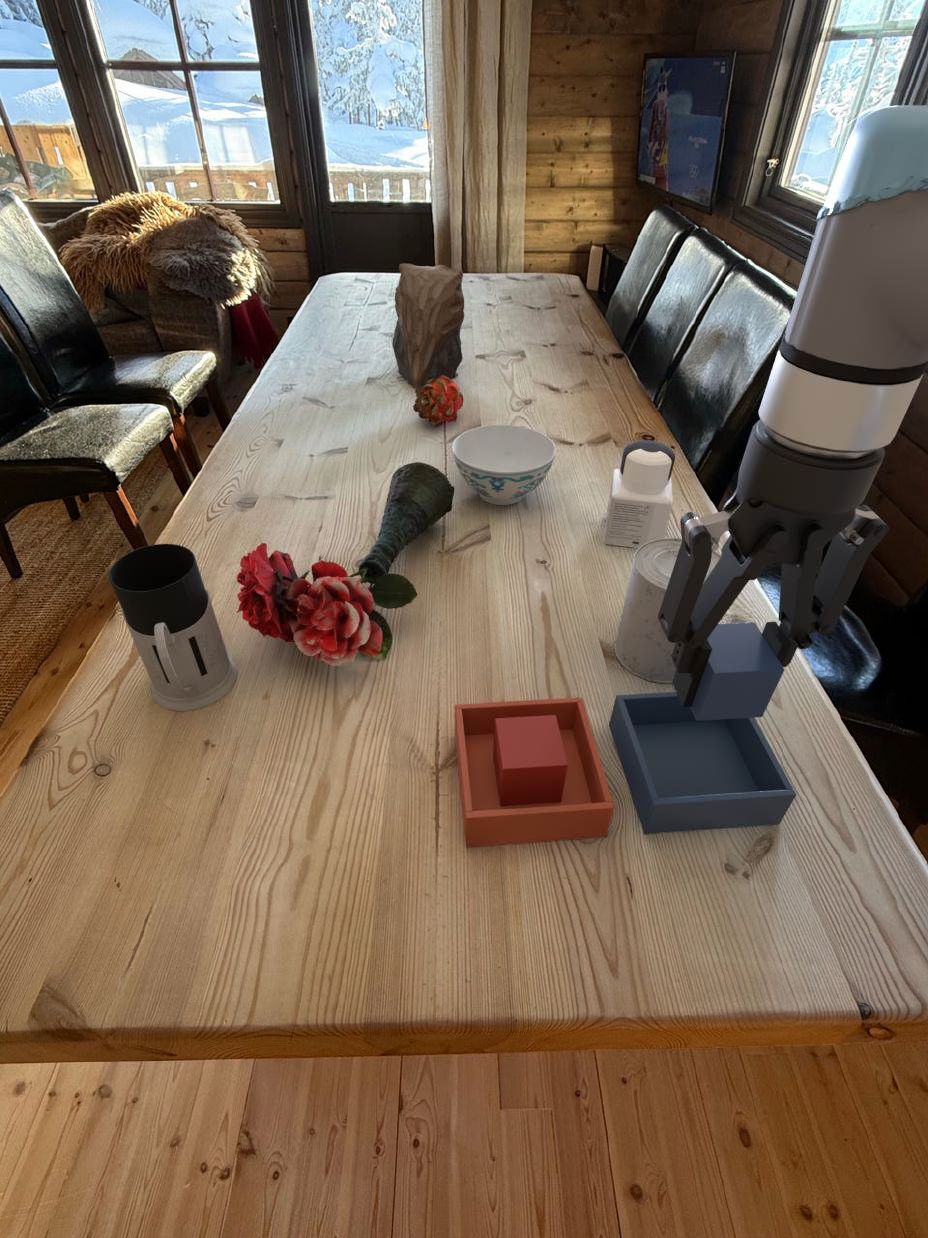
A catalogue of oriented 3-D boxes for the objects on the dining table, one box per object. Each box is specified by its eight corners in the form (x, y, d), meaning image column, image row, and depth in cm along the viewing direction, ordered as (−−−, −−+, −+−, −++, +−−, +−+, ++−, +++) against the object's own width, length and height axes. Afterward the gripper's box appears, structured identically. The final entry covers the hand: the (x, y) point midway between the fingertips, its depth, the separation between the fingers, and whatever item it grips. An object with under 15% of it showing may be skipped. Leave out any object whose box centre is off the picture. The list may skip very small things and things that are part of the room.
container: (605, 515, 96) (620, 431, 87) (660, 521, 95) (680, 437, 86) (603, 544, 90) (619, 458, 82) (661, 552, 89) (683, 464, 80)
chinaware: (471, 527, 93) (472, 479, 88) (440, 478, 104) (439, 431, 99) (567, 510, 97) (573, 462, 92) (527, 464, 107) (531, 418, 102)
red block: (561, 802, 59) (568, 765, 55) (500, 806, 58) (503, 769, 55) (550, 752, 63) (555, 714, 59) (492, 756, 62) (495, 718, 59)
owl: (391, 367, 139) (385, 262, 126) (446, 359, 143) (445, 257, 130) (412, 389, 130) (408, 279, 117) (470, 380, 134) (472, 272, 121)
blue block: (762, 717, 53) (785, 669, 50) (696, 721, 53) (714, 673, 49) (735, 668, 57) (754, 621, 54) (674, 672, 57) (689, 624, 53)
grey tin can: (716, 652, 74) (748, 564, 66) (672, 697, 69) (702, 607, 61) (643, 613, 79) (664, 527, 71) (597, 653, 74) (615, 564, 66)
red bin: (606, 837, 57) (614, 807, 54) (465, 847, 56) (466, 818, 53) (576, 727, 66) (582, 696, 63) (454, 734, 65) (454, 704, 62)
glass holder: (233, 644, 74) (199, 532, 65) (247, 737, 64) (210, 622, 55) (150, 662, 72) (103, 549, 62) (152, 762, 62) (95, 647, 52)
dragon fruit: (425, 443, 116) (442, 425, 126) (465, 419, 112) (479, 401, 122) (398, 401, 113) (417, 385, 123) (437, 374, 109) (453, 360, 119)
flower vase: (414, 563, 99) (323, 731, 72) (319, 478, 94) (182, 624, 67) (484, 501, 90) (410, 666, 63) (383, 403, 85) (255, 538, 58)
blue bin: (779, 824, 58) (797, 795, 55) (643, 834, 57) (654, 805, 54) (726, 718, 67) (738, 687, 64) (608, 725, 66) (615, 694, 63)
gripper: (927, 401, 43) (802, 655, 58) (651, 408, 42) (598, 666, 57) (1008, 455, 37) (846, 720, 53) (692, 465, 36) (621, 734, 51)
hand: (717, 692), depth 55 cm, fingers closed on blue block, 5 cm apart
